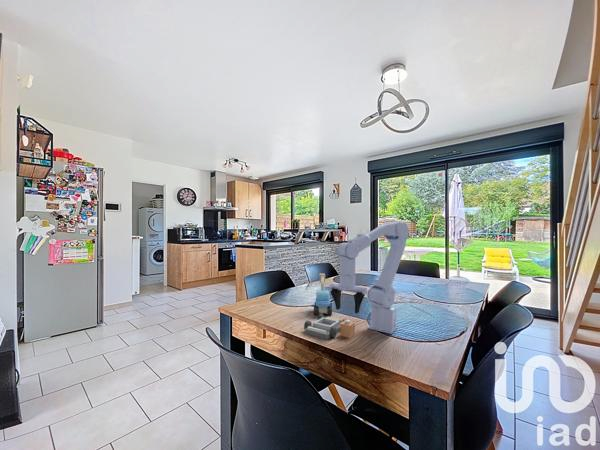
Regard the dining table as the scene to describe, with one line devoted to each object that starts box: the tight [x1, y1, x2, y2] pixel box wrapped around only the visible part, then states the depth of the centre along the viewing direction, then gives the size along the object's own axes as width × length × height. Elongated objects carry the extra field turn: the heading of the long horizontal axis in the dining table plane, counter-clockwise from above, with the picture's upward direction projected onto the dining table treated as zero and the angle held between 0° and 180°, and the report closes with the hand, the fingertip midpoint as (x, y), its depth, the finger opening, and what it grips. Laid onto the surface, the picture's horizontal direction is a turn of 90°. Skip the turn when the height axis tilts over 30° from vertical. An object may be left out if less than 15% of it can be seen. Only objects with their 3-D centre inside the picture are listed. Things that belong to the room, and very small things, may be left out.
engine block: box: [339, 319, 356, 339], centre depth 97 cm, size 4×4×5 cm
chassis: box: [303, 313, 347, 340], centre depth 102 cm, size 12×16×4 cm
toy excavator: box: [313, 273, 333, 316], centre depth 126 cm, size 9×17×17 cm, turn 174°
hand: (347, 310), depth 97 cm, fingers open, 7 cm apart
